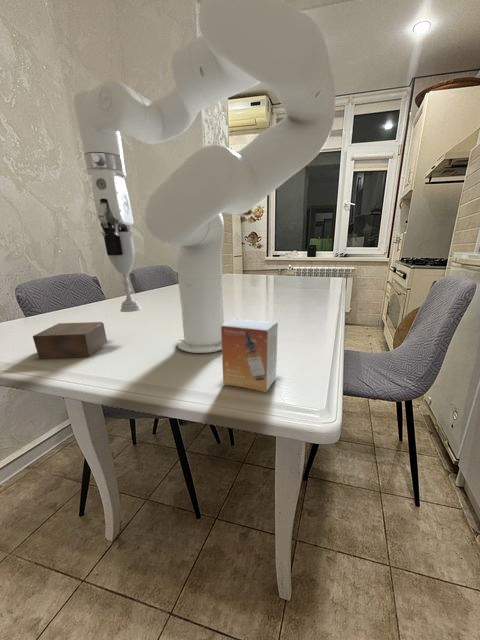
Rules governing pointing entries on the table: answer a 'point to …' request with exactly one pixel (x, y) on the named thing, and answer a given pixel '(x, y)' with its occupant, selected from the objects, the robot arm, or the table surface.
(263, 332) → the small box
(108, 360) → the table surface
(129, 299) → the chalice
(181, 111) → the robot arm
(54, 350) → the walnut block
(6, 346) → the table surface
